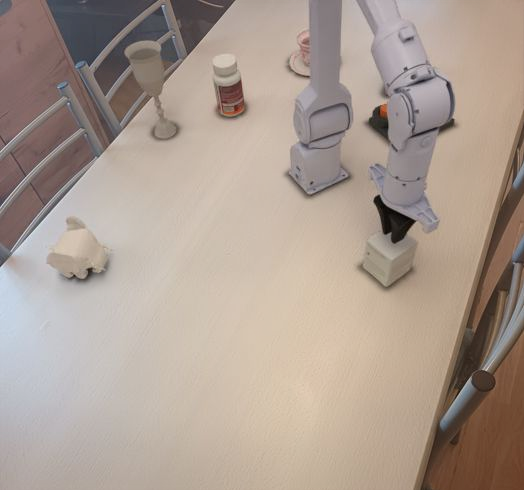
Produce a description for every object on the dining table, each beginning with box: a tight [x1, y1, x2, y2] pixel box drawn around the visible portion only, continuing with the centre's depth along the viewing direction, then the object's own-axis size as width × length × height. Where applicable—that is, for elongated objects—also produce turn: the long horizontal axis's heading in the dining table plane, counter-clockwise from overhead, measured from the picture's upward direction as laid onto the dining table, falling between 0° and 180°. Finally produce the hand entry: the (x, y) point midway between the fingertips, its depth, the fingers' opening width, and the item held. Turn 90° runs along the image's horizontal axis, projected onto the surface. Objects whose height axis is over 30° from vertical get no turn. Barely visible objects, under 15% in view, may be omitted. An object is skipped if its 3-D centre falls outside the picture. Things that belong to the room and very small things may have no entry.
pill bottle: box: [212, 53, 245, 118], centre depth 110 cm, size 6×6×11 cm
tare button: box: [380, 103, 388, 118], centre depth 105 cm, size 3×3×2 cm
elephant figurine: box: [45, 215, 116, 280], centre depth 90 cm, size 10×12×9 cm
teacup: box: [288, 26, 310, 77], centre depth 119 cm, size 12×12×6 cm
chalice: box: [124, 40, 178, 139], centre depth 105 cm, size 7×7×18 cm
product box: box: [362, 229, 419, 288], centre depth 85 cm, size 6×6×7 cm
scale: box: [368, 104, 455, 143], centre depth 106 cm, size 14×11×3 cm
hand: (393, 235), depth 81 cm, fingers closed
